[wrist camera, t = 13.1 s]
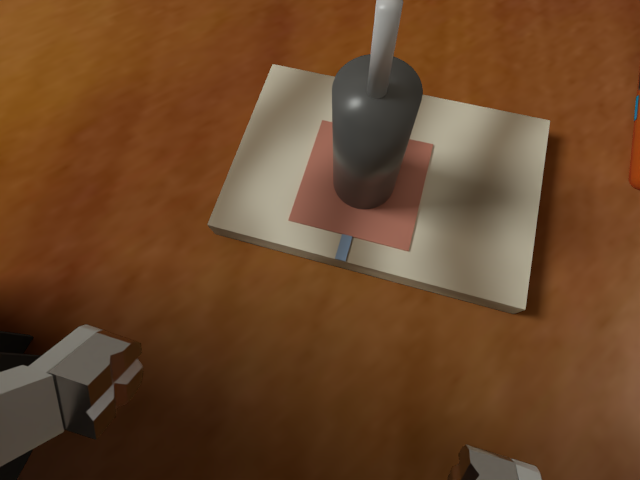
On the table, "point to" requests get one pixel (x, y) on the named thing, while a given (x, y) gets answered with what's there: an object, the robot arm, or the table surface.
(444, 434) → the table surface
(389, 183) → the grey cylinder with rod
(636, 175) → the phone
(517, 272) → the cream flat block
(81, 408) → the robot arm
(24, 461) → the binder
